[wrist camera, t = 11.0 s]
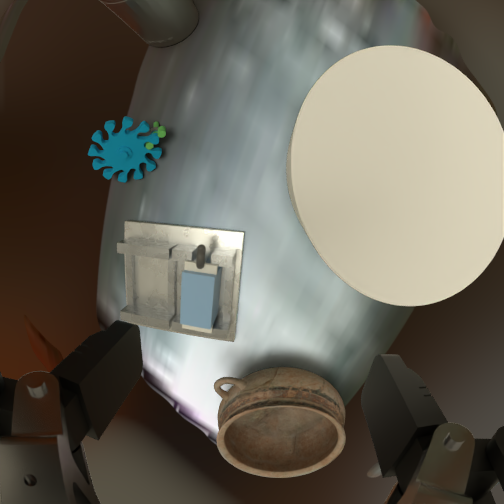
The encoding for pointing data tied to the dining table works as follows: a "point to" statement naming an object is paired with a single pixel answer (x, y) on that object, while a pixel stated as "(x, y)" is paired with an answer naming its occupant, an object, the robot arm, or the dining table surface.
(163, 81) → the dining table surface
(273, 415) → the cooking pot
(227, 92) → the dining table surface
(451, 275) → the plate stack
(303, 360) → the dining table surface
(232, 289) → the plate
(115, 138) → the gear
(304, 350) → the dining table surface
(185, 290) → the block
